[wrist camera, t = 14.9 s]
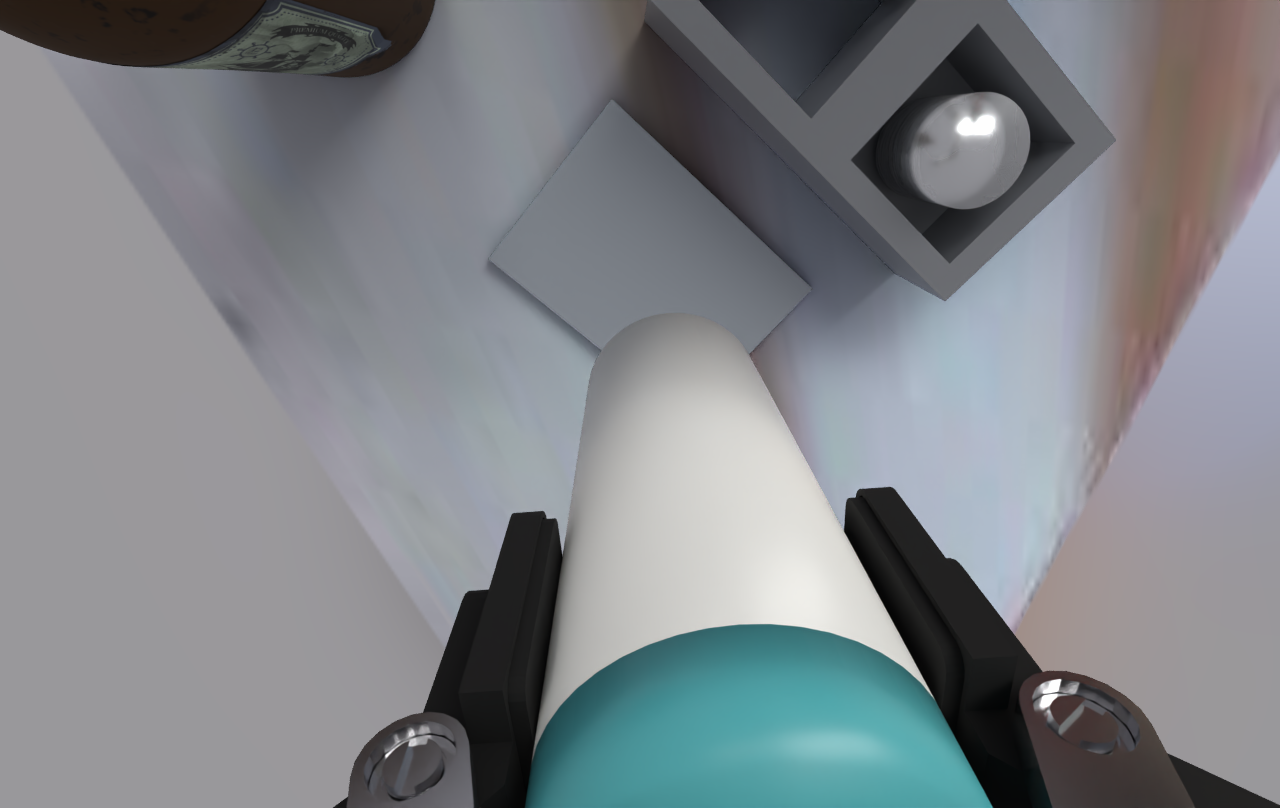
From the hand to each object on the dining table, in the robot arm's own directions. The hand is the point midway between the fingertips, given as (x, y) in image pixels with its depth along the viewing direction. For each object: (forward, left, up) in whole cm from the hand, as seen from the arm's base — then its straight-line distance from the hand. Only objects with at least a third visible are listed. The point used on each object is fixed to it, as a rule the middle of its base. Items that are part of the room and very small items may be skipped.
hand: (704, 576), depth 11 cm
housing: (+1, +13, -26) cm, 29 cm away
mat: (0, 0, -26) cm, 26 cm away
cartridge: (0, 0, -8) cm, 8 cm away
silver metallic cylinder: (+5, +13, -24) cm, 27 cm away
